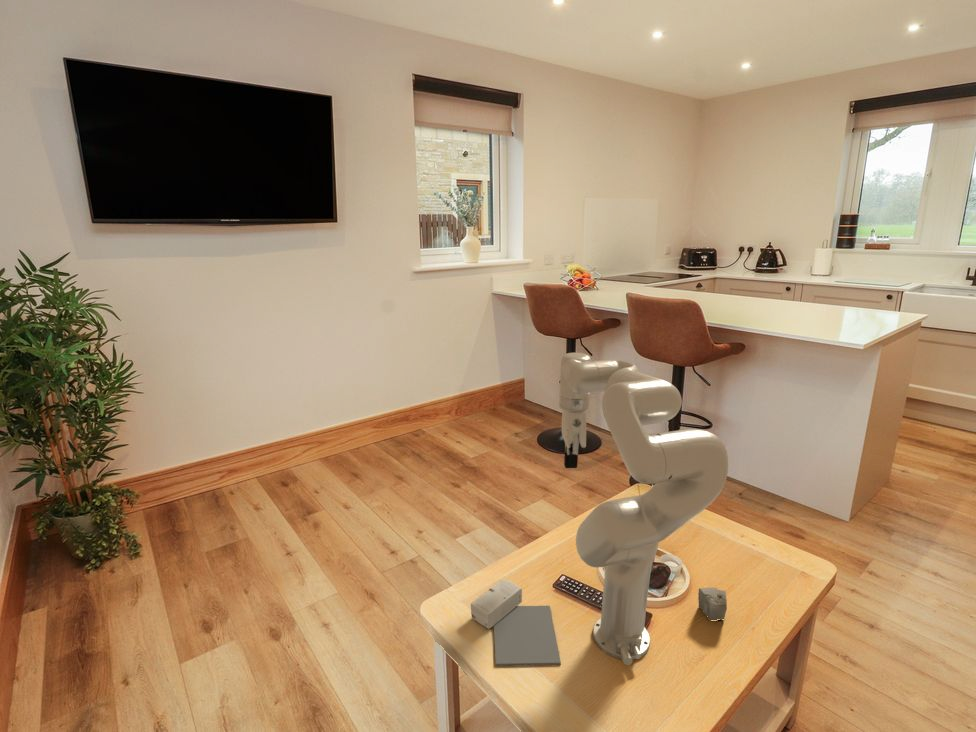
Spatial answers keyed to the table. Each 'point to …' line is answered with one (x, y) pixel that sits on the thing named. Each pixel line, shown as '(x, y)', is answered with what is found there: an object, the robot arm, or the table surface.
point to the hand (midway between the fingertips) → (570, 466)
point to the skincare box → (496, 603)
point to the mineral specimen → (713, 602)
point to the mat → (526, 638)
